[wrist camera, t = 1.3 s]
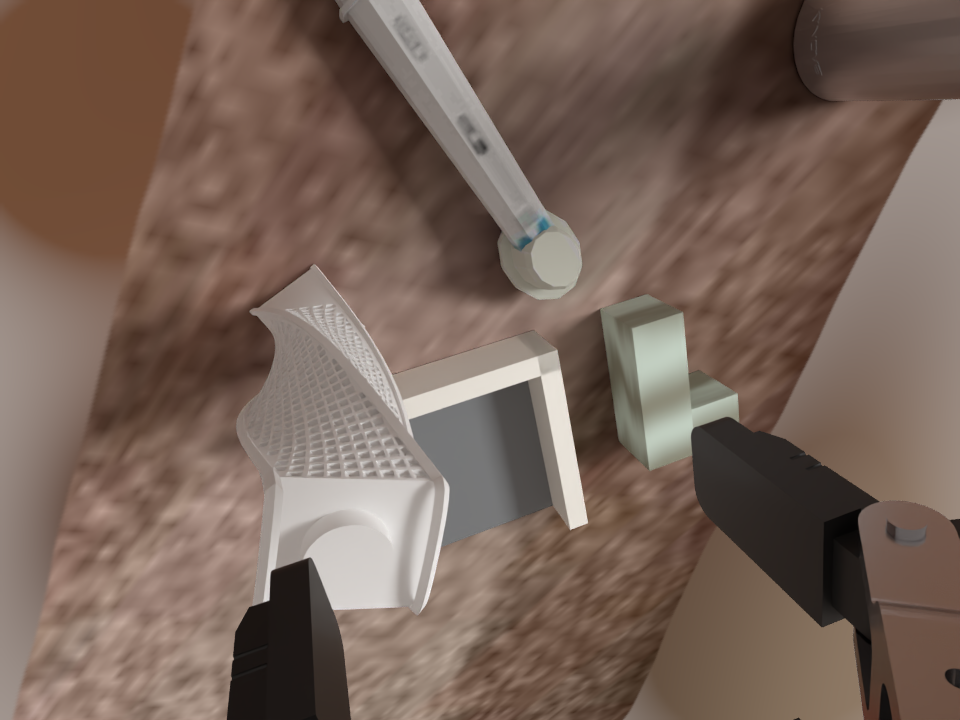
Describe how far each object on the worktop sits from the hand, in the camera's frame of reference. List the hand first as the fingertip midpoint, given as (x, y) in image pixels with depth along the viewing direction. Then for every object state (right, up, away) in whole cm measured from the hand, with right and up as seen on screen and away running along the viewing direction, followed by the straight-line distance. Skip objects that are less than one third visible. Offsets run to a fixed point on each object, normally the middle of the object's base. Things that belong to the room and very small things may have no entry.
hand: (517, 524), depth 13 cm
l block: (+13, +3, +40) cm, 42 cm away
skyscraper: (-12, +6, +31) cm, 34 cm away
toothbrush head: (-3, +18, +30) cm, 35 cm away
